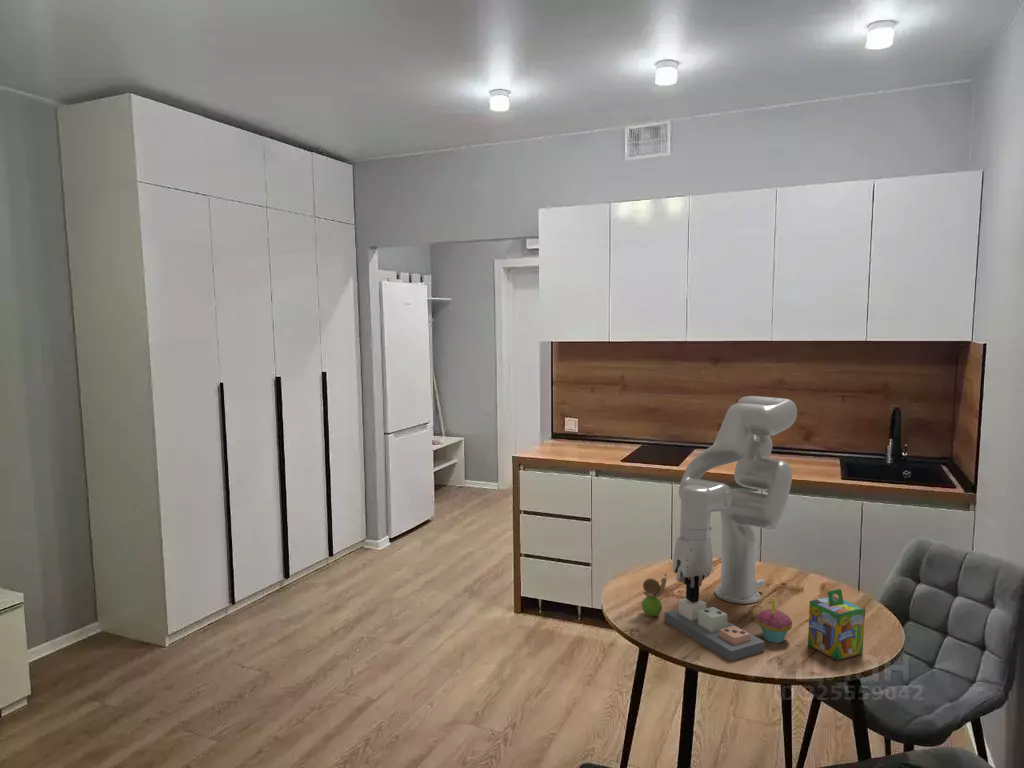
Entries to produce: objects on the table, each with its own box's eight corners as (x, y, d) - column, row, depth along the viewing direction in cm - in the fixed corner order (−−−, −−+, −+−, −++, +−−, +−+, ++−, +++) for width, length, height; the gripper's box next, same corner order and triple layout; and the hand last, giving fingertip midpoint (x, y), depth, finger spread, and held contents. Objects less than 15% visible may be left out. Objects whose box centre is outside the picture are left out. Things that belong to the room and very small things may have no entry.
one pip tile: (678, 613, 179) (678, 598, 178) (692, 610, 181) (693, 595, 180) (691, 621, 174) (691, 605, 174) (705, 617, 176) (706, 602, 176)
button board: (664, 621, 179) (664, 612, 179) (695, 613, 184) (696, 604, 184) (731, 661, 158) (731, 651, 158) (764, 651, 163) (764, 641, 163)
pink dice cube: (719, 645, 165) (719, 628, 165) (733, 640, 168) (734, 624, 167) (734, 654, 161) (734, 637, 161) (749, 649, 163) (749, 632, 163)
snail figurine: (665, 621, 179) (667, 577, 178) (641, 618, 180) (642, 575, 179) (665, 612, 185) (666, 570, 183) (641, 610, 186) (642, 568, 185)
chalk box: (837, 662, 158) (840, 601, 157) (806, 645, 167) (808, 587, 165) (864, 654, 162) (867, 595, 160) (832, 638, 170) (835, 582, 169)
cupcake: (787, 649, 164) (790, 602, 163) (752, 640, 168) (753, 594, 167) (793, 635, 171) (796, 590, 170) (759, 627, 176) (761, 583, 175)
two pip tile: (698, 625, 172) (698, 609, 172) (712, 621, 174) (713, 605, 174) (712, 633, 167) (712, 617, 167) (726, 629, 170) (727, 613, 169)
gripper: (706, 525, 182) (703, 590, 184) (663, 532, 175) (660, 599, 177) (726, 533, 176) (723, 600, 177) (682, 540, 169) (680, 610, 170)
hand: (692, 600), depth 177 cm, fingers closed
